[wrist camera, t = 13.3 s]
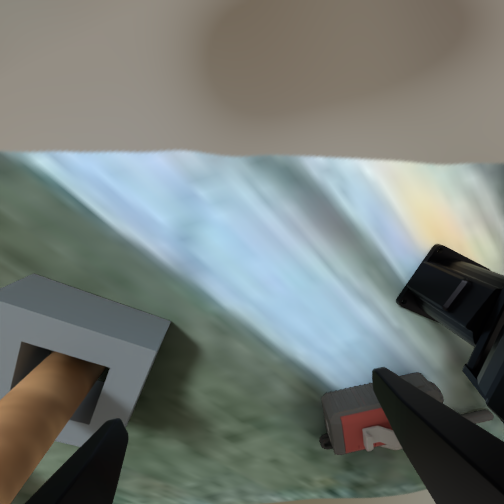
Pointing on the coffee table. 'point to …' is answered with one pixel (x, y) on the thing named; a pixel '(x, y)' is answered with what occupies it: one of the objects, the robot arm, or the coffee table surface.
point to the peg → (39, 415)
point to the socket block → (78, 346)
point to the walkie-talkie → (370, 417)
